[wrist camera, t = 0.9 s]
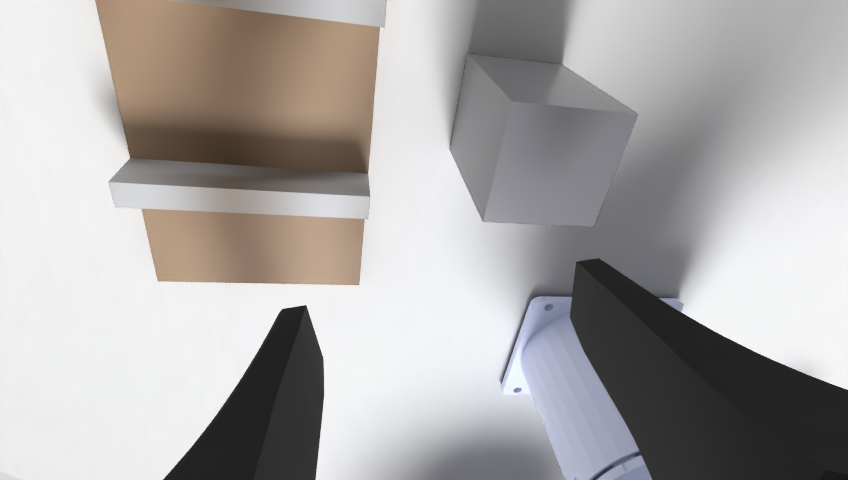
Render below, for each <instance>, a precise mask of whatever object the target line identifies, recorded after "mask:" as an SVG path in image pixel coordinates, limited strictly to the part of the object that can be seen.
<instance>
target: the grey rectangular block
mask: <svg viewBox="0 0 848 480" xmlns="http://www.w3.org/2000/svg"><path fill="white" fill-rule="evenodd" d="M637 117H638V114H637V113H636V112H634V111H633V110H631V109H630V108H628V107H627V106H625V105H624V104H622V103H621V102H619V101H617V100H616V99H614V98H613V97H611V96H610V95H608V94H607V93H605V92H604V91H602V90H600V89H599V88H597V87H596V86H594V85H593V84H591V83H590V82H588V81H587V80H585V79H584V78H582V77H580V76H579V75H577V74H576V73H574V72H573V71H571V70H570V69H568V68H567V67H565V66H563V65H561V64H553V63H544V62H536V61H528V60H519V59H511V58H503V57H494V56H486V55H478V54H469V53H467V56H466V61H465V67H464V73H463V78H462V84H461V89H460V95H459V100H458V106H457V111H456V117H455V123H454V128H453V134H452V139H451V145H450V151H451V153H452V156H453V158H454V160H455V162H456V164H457V167H458V169H459V171H460V173H461V175H462V177H463V180H464V182H465V184H466V186H467V188H468V190H469V193H470V195H471V197H472V199H473V201H474V203H475V206H476V208H477V210H478V212H479V214H480V217H481V219H482V221H483V222H499V223H520V224H541V225H562V226H582V227H594V225H595V222H596V219H597V217H598V214H599V212H600V209H601V207H602V204H603V202H604V199H605V197H606V194H607V192H608V189H609V187H610V184H611V182H612V179H613V177H614V174H615V172H616V169H617V167H618V164H619V162H620V159H621V157H622V154H623V152H624V149H625V147H626V144H627V142H628V139H629V137H630V134H631V132H632V129H633V127H634V124H635V122H636V119H637Z"/></svg>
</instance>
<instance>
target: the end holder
mask: <svg viewBox="0 0 848 480" xmlns="http://www.w3.org/2000/svg"><path fill="white" fill-rule="evenodd" d="M95 1H96V6H97V10H98V15H99V19H100V24H101V28H102V33H103V37H104V42H105V46H106V51H107V55H108V60H109V64H110V69H111V73H112V78H113V82H114V87H115V91H116V96H117V100H118V105H119V109H120V114H121V118H122V123H123V127H124V132H125V136H126V141H127V145H128V150H129V154H130V159H129V160H128V161H127V162H126V163H125V165H124V166H123V167H122V168H121V169H120V170H119V171H118V172H117V173H116V174H115V175H114V177H113V178H112V179H111V180H110V181H109V182H108V183H109V187H110V190H111V194H112V198H113V202H114V206H115V207H120V208H141V209H142V212H143V217H144V221H145V226H146V230H147V235H148V239H149V244H150V248H151V253H152V257H153V262H154V266H155V271H156V275H157V280H158V281H174V282H225V283H277V284H329V285H359V280H360V268H361V255H362V243H363V230H364V219H368V215H369V203H370V190H369V179H368V168H369V155H370V143H371V130H372V118H373V105H374V93H375V80H376V68H377V55H378V43H379V30H380V27H385V16H386V4H387V0H95Z"/></svg>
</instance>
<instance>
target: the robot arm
mask: <svg viewBox="0 0 848 480" xmlns="http://www.w3.org/2000/svg"><path fill="white" fill-rule="evenodd" d="M547 304H550V305H548V306H546V305H547ZM683 306H684V305H683V303H682V302H681V301H680V300H679V299H676V298H657V297H656V296H654V295H653V294H651V293H650V292H648V291H647V290H645V289H644V288H642V287H641V286H639V285H638V284H636V283H635V282H633V281H632V280H630V279H629V278H627V277H626V276H624V275H623V274H621V273H620V272H619V271H617V270H616V269H614V268H613V267H611V266H610V265H608V264H607V263H605V262H604V261H602V260H600V259H599V258H597V259H591V260H585V261H579V262H576V269H575V277H574V285H573V293H572V297H551V296H540V297H536V298H534V299H533V300H531V302H530V304H529V307H528V310H527V313H526V316H525V318H524V321H523V324H522V327H521V330H520V333H519V336H518V339H517V341H516V344H515V347H514V350H513V353H512V356H511V359H510V362H509V364H508V367H507V370H506V373H505V376H504V379H503V382H502V385H501V390H502V392H503V394H505V395H526V394H531V395H532V397H533V400H534V402H535V405H536V407H537V410H538V412H539V415H540V417H541V420H542V422H543V425H544V428H545V430H546V433H547V435H548V438H549V440H550V443H551V445H552V448H553V450H554V453H555V455H556V458H557V461H558V463H559V466H560V468H561V471H562V473H563V476H564V478H565V480H848V390H846V389H843V388H841V387H838V386H835V385H832V384H830V383H827V382H824V381H822V380H819V379H817V378H814V377H812V376H809V375H806V374H804V373H802V372H799V371H797V370H795V369H792V368H790V367H788V366H785V365H783V364H780V363H778V362H776V361H773V360H771V359H769V358H767V357H765V356H762V355H760V354H758V353H756V352H754V351H752V350H750V349H748V348H746V347H744V346H742V345H740V344H738V343H736V342H734V341H732V340H730V339H728V338H726V337H724V336H722V335H720V334H718V333H716V332H714V331H712V330H711V329H709V328H707V327H705V326H704V325H702V324H700V323H698V322H697V321H695V320H693V319H691V318H690V317H688V316H686V315H685V314H683V313H681V311H682V309H683ZM323 400H324V366H323V356H322V353H321V350H320V347H319V344H318V341H317V338H316V334H315V331H314V328H313V325H312V322H311V319H310V316H309V313H308V310H307V306H306V305H305V306H299V307H292V308H286V309H282V310H281V312H280V313H279V314H278V316H277V318H276V320H275V322H274V324H273V326H272V327H271V329H270V331H269V333H268V335H267V337H266V338H265V340H264V342H263V344H262V345H261V347H260V349H259V351H258V352H257V354H256V356H255V357H254V359H253V361H252V362H251V364H250V365H249V367H248V369H247V370H246V372H245V374H244V375H243V377H242V378H241V380H240V382H239V383H238V385H237V386H236V387H235V389H234V390H233V392H232V393H231V395H230V396H229V398H228V399H227V401H226V402H225V404H224V405H223V407H222V408H221V409H220V411H219V412H218V414H217V415H216V416H215V418H214V419H213V420H212V422H211V423H210V424H209V426H208V427H207V428H206V430H205V431H204V432H203V433H202V435H201V436H200V437H199V438H198V440H197V441H196V442H195V443H194V445H193V446H192V447H191V448H190V450H189V451H188V452H187V453H186V454H185V455H184V456H183V458H182V459H181V460H180V461H179V462H178V463H177V465H176V466H175V467H174V468H173V469H172V470H171V472H170V473H169V474H168V475H167V476H166V477H165V478H164V479H163V480H315V478H316V468H317V459H318V449H319V440H320V430H321V421H322V411H323Z"/></svg>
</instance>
